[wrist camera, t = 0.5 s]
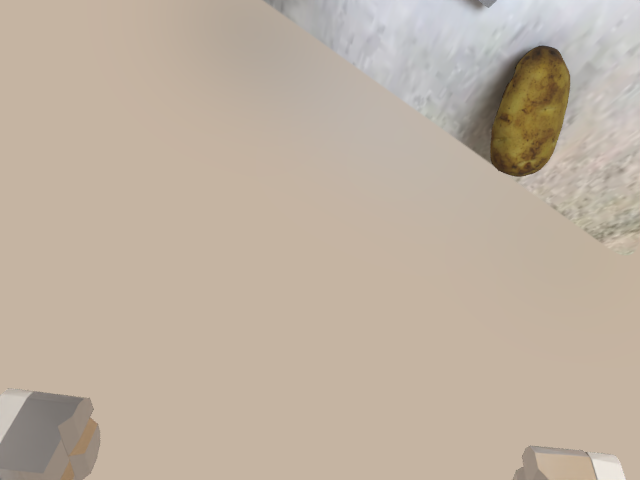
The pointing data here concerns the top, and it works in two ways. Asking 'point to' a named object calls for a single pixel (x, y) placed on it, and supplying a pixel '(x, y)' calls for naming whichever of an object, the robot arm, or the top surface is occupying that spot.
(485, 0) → the tuner board
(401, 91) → the top surface
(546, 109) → the potato
